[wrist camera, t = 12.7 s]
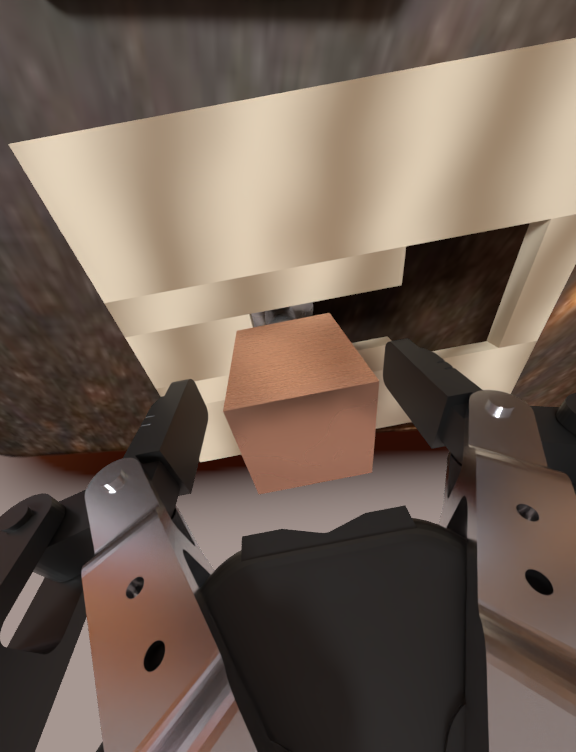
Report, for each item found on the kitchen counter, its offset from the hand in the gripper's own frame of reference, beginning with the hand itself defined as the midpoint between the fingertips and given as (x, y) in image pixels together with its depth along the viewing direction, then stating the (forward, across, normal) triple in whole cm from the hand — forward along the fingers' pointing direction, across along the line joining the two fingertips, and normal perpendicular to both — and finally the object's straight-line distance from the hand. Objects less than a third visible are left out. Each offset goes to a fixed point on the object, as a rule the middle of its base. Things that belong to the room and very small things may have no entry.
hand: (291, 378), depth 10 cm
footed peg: (+10, 0, 0) cm, 10 cm away
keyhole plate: (+10, -4, 0) cm, 11 cm away
